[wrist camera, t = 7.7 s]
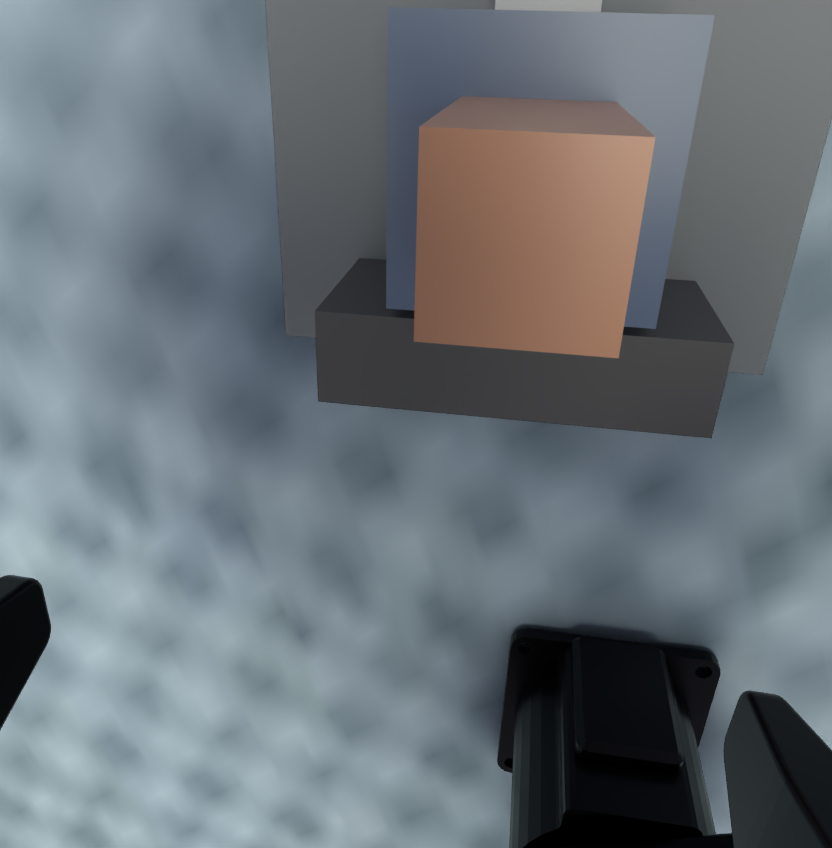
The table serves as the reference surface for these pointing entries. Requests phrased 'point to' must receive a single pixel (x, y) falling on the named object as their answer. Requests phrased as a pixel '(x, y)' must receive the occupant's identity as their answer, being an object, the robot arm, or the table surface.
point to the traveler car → (536, 171)
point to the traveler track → (690, 252)
